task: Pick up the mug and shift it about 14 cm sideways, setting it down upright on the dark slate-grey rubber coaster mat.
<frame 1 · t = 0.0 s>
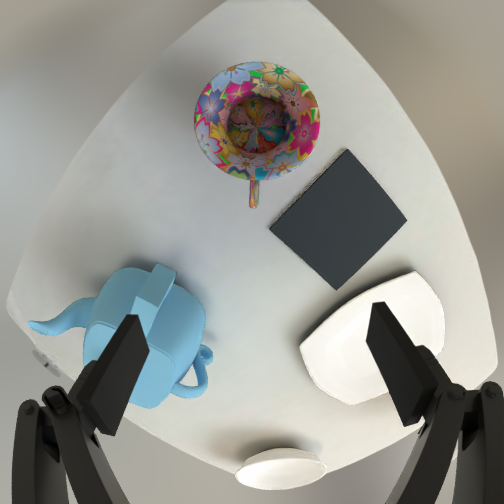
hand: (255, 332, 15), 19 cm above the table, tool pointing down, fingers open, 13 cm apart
bowl: (280, 453, 52), on the table
plate: (377, 342, 40), on the table
mug: (255, 139, 30), on the table
left mat: (343, 223, 33), on the table
teapot: (145, 305, 37), on the table
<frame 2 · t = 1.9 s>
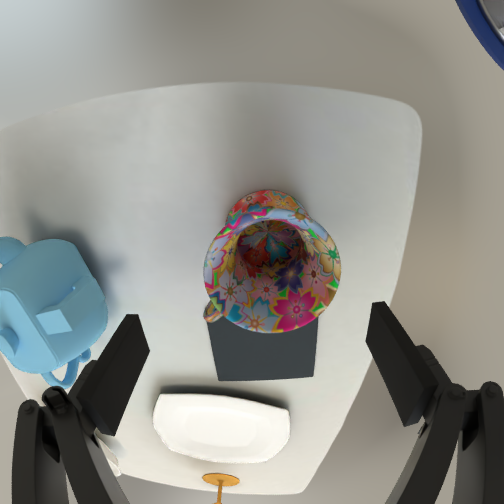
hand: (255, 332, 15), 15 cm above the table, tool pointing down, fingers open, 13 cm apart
bowl: (90, 436, 48), on the table
plate: (221, 426, 42), on the table
mug: (258, 238, 29), on the table
left mat: (264, 346, 34), on the table
teapot: (62, 273, 31), on the table
cup: (221, 479, 52), on the table
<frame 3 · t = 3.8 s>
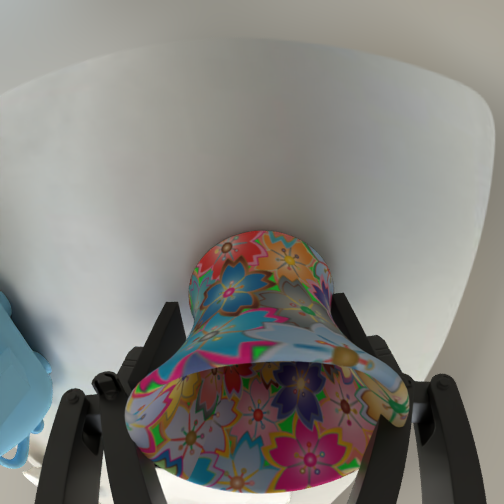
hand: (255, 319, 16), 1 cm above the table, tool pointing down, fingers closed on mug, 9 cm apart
bowl: (70, 476, 35), on the table
plate: (209, 488, 30), on the table
mug: (245, 304, 18), on the table, touching gripper
teapot: (0, 325, 19), on the table
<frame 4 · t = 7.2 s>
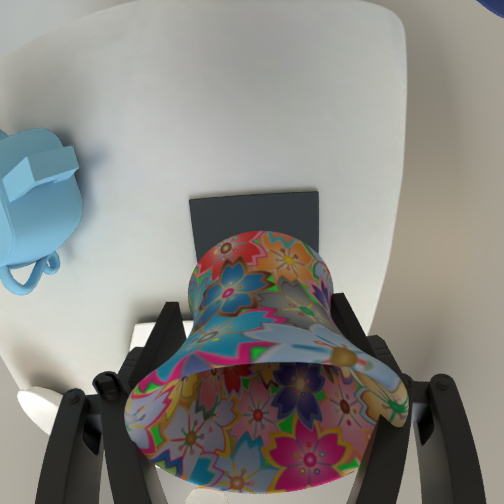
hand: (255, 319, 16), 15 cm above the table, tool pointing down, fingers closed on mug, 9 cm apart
bowl: (66, 403, 44), on the table
plate: (209, 377, 38), on the table
mug: (244, 305, 18), point 13 cm above the table, touching gripper
left mat: (257, 250, 30), on the table
teapot: (42, 180, 27), on the table
cup: (212, 457, 48), on the table
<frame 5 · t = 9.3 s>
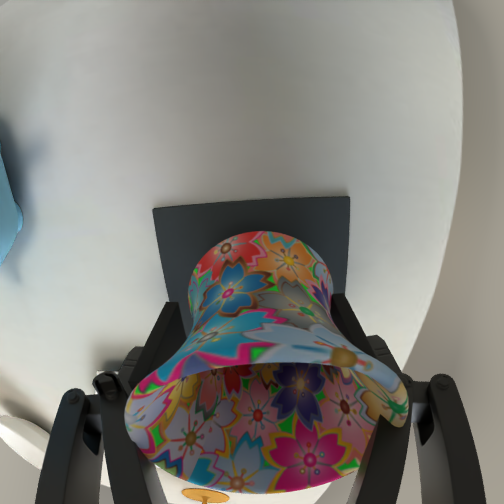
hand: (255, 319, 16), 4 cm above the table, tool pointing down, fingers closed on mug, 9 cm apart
bowl: (43, 432, 33), on the table
mug: (244, 305, 18), point 3 cm above the table, touching gripper
left mat: (255, 283, 20), on the table
cup: (205, 494, 38), on the table
when the fingers open (2 cm above the table, at t = 10.5 s): mug stays where it is, resting on left mat.
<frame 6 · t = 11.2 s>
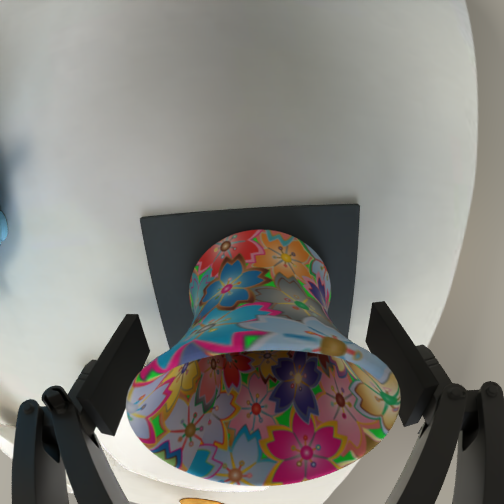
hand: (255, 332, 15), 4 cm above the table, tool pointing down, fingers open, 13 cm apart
bowl: (39, 440, 31), on the table
plate: (192, 443, 26), on the table
mug: (244, 302, 18), resting on left mat
left mat: (254, 299, 18), on the table
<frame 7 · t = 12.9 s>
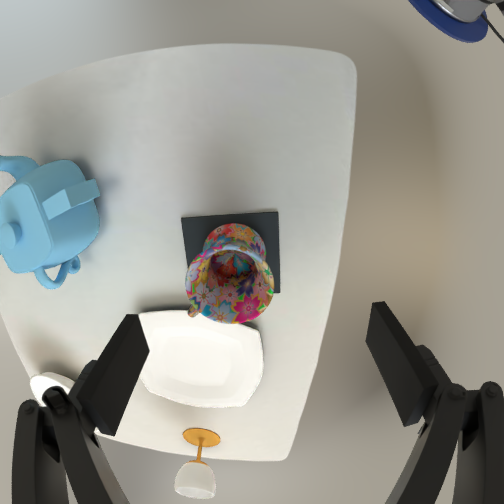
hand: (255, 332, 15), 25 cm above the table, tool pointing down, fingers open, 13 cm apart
bowl: (73, 388, 52), on the table
plate: (197, 359, 47), on the table
mug: (227, 257, 40), resting on left mat
left mat: (232, 256, 40), on the table
teapot: (64, 198, 37), on the table
cup: (201, 437, 56), on the table
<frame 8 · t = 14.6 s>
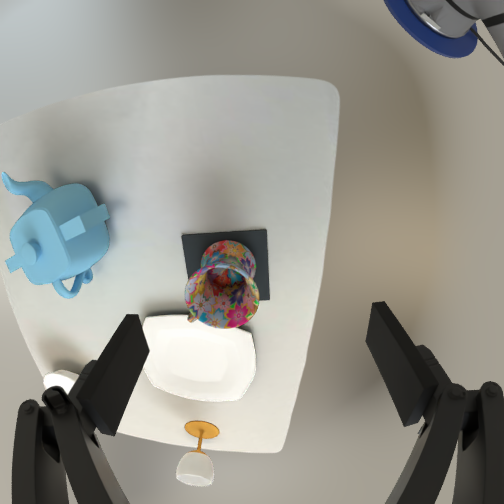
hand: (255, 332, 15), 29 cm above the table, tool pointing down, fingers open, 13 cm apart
bowl: (84, 384, 58), on the table
plate: (197, 357, 52), on the table
mug: (222, 269, 45), resting on left mat
left mat: (227, 268, 45), on the table
teapot: (75, 216, 42), on the table
cup: (202, 429, 62), on the table
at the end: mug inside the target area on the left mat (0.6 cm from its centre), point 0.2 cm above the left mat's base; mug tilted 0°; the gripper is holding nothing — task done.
